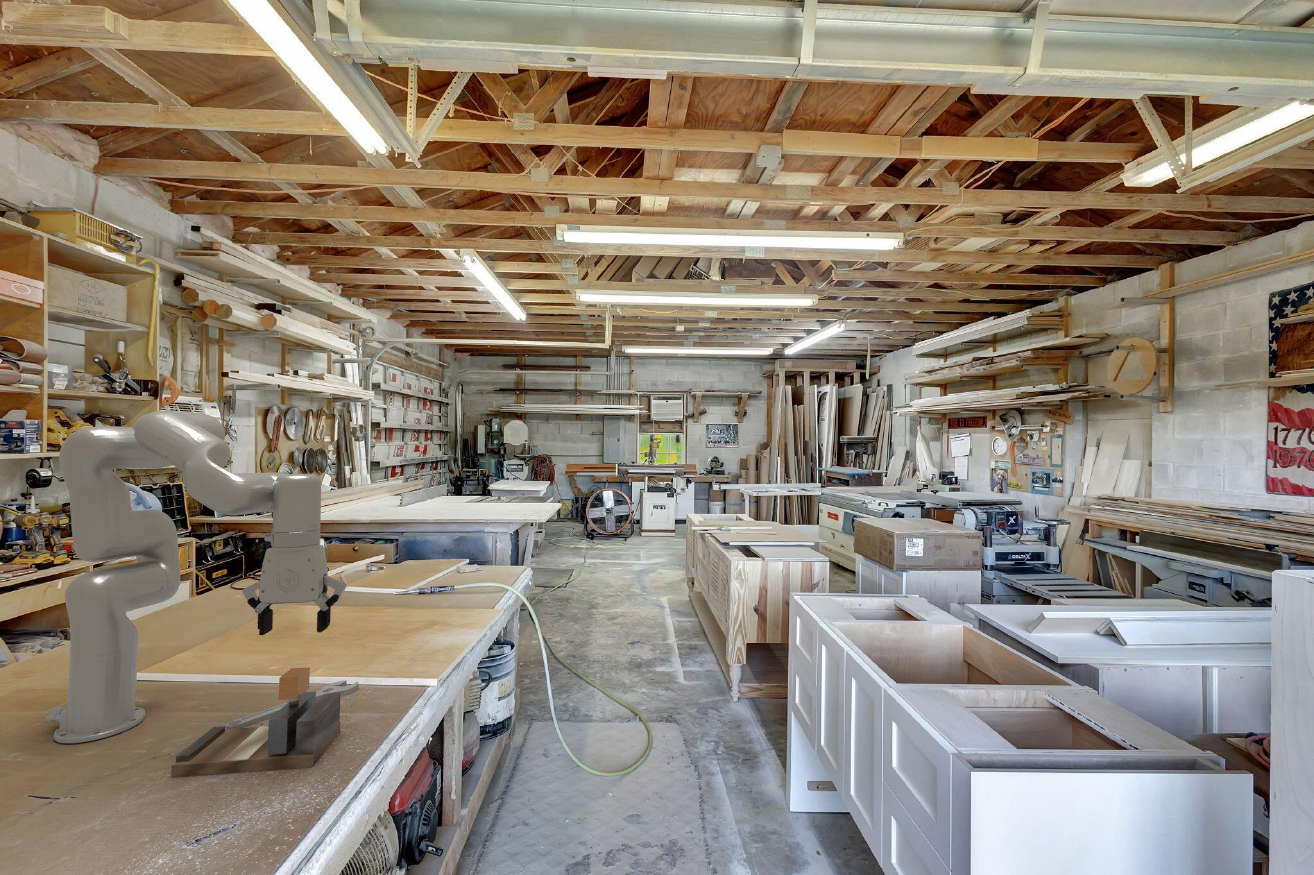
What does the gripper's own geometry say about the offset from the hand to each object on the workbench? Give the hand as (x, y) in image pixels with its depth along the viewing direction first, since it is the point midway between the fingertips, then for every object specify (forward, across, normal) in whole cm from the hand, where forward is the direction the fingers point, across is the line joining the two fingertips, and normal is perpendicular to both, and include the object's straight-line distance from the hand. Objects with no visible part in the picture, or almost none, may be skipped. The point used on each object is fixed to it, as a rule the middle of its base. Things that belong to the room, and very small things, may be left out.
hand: (294, 631), depth 100 cm
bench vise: (+22, -5, 0) cm, 23 cm away
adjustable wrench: (+22, -8, +20) cm, 31 cm away
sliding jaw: (+20, 0, 0) cm, 20 cm away
